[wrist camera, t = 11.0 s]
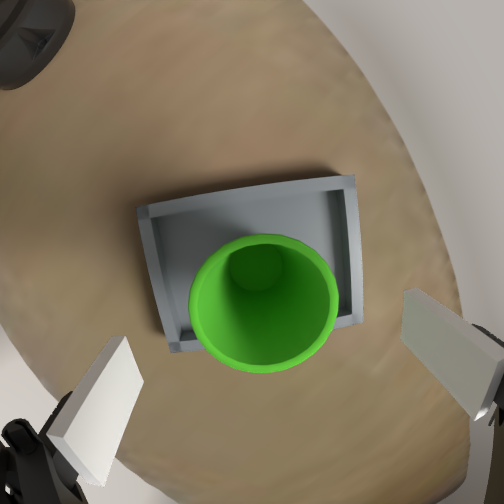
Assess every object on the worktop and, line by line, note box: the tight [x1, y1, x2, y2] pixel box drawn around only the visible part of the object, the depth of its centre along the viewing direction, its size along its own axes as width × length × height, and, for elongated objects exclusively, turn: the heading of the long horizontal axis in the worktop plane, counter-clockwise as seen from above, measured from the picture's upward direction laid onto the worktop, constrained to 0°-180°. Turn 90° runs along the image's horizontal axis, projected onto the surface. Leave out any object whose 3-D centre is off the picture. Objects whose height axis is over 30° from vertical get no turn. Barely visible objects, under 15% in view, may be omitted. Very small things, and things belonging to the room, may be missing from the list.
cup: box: [188, 233, 339, 373], centre depth 22 cm, size 9×9×11 cm
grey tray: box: [136, 174, 363, 353], centre depth 27 cm, size 14×19×3 cm
